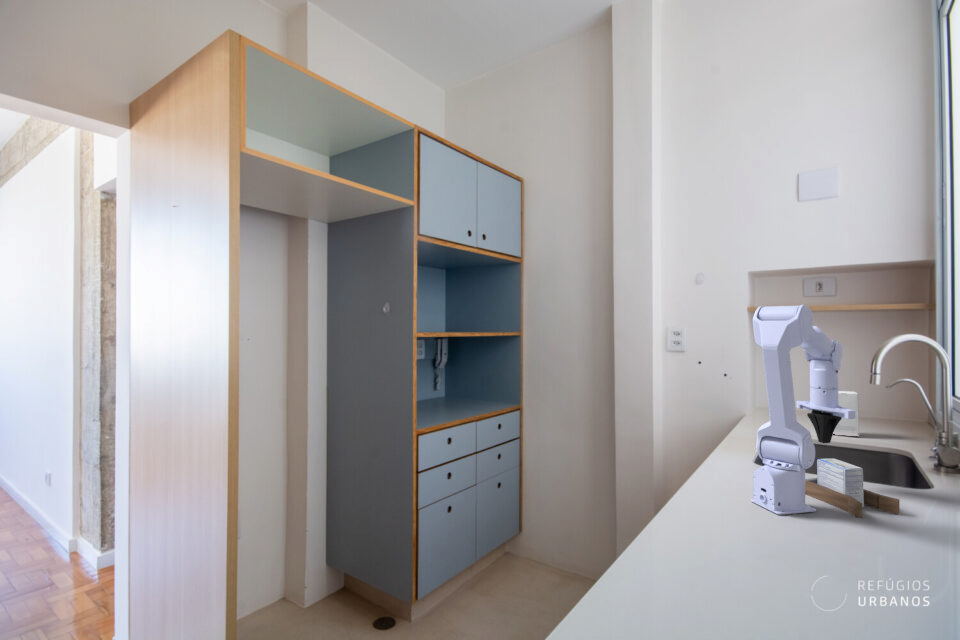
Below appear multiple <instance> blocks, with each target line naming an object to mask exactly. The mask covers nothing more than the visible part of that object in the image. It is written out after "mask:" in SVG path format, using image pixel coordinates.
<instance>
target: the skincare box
mask: <svg viewBox="0 0 960 640" xmlns="http://www.w3.org/2000/svg"><path fill="white" fill-rule="evenodd" d="M838 405H840V406H841V407H843V408H847V409H850V410H855V419H846V418H844V417H842V419H841V420H840V422H839V423H838V424H837V426H836V428H835V430H834V431H836V432H851V433H859V434H860V417H859V416H860V415H859V414H860V413H859V411H860V410H859V393H858V392H856V391H852V390H851V391H849V390H838Z"/></svg>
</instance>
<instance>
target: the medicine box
mask: <svg viewBox="0 0 960 640" xmlns="http://www.w3.org/2000/svg"><path fill="white" fill-rule="evenodd" d="M816 469H817V470H816V471H817V473H816V474H817V475H816V476H817V477H816V478H817V484H818V485H821V486H824V487H826V488H829V489H831V490H834V491H837V492H839V493H842V494H845V495H847V496H850V497H852V498H854V499H856V500H857V501H859V502H860V503H862V508H864V507H865V504H864V492H863V489H864V470H863V468H862V467H860V466H858V465H857V466H856V465H854V464H851V463H849V462H846V461H843V460H839V459H837V458H818V459H817V460H816Z"/></svg>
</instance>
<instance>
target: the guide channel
mask: <svg viewBox="0 0 960 640" xmlns="http://www.w3.org/2000/svg"><path fill="white" fill-rule="evenodd" d="M863 492H864V506H865V505H866V506H867V507H870V508H873V509H876V510H879V511H883V512H887V513H890V514H894V515H900V509H901V508H900V499H899V498H895V497H891V496H887V495H882V494H879V493H877V492H874V491H870V490H868V489H865V488H863ZM806 495H807V496H808V497H809V496H810V497H812V498H814V499H817V500H819V501H822V502H824V503H826V504H829V505H831V506H834V507H836V508H838V509H840V510H843V511H846V512H848V513H849V514H851V515H852V516H854V517H855V518H858V519H863V507H862V503H860V502H859V501H857V500H856V499H854V498H852V497H850V496H847V495H845V494H842V493H839V492H837V491H834V490H831V489H829V488H826V487H824V486H821V485H818V484H817V477H813V478H812V477H811V478H805V496H806Z"/></svg>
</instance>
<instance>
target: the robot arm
mask: <svg viewBox="0 0 960 640" xmlns="http://www.w3.org/2000/svg"><path fill="white" fill-rule="evenodd" d="M813 321H814V320H813V312H812V310H811V308H810V307H809V306H808V305H807V304H800V305H775V306H773V305H771V306H770V305H769V306H768V305H767V306H765V305H760V306H758V307H757V308H756V310H755V311H754V314H753V317H752V328H753V337H754V342H755V344H756V345H757V346H759V347H761V348H762V359H763V366H764V375H765V386H766V388H765V389H766V395H767V404H768V415H769V420H768V421H767V422H765V423H763V424H761V426H759V428H758V429H757V431H756V443H755V446H756V447H755V450H756V454H757V455H758V457H759V459H760V460H762V464H764V465H763V466H760V467H758V468H756V469H755V470H754V472H753V477H752V478H753V479H752V481H753V486H752V489H753V498H750V502H752V503H754V504H756V505H758V506H760V507H762V508H764V509H766V510H769V512H772V513H775V514H776V515H779V516H781V515H791V514H802V513H815V512H817V509H816V508H814V507H812V506H810V505H807V504H806V494H805V479H806V470H807V469H810V468H811V467H812V466H813V465H814V462H815V459H816V446H815V444H814V442H813V438H812V437H813V436H812V433H811V430H809V429H807V428H806V427H805V426H804V425H803V424H801V423H799V421H797V411H796V409H799V410H801V409H802V410H807V411H811V412H808V413H807V412H806V413H807V417H808V419H809V420H810V422H811V424H812V426H813V428H814V430H815V434H816V437H817V440H818V442H819V443H821V444H830V443H831V441H832V438H833V436H834V435H833V432H834V430H835V428H836V426H837V424H838V423H839V422H840V420H841V419H842V417H844V418H846V419H855V410H850V409H847V408H843V407H841V406H840V405H838V391H839V370H841V361H842V357H843V348H842V344H841V343H840V342H839V341H837V340H835V339H830V337H829V336H827V334H826V333H825V332H824V331H823V330H822V329H821V328H819V326H818V325H813V323H814V322H813ZM799 346H800V348H802V350H803V353H804V356H805V360H806V361H807V362H809V401H808V400H796V403H795V393H794V391H795V390H794V384H793V383H794V382H793V381H794V380H793V372H792V362H791V353H790V352H791V350H793V349H794V348H797V347H799Z"/></svg>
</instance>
